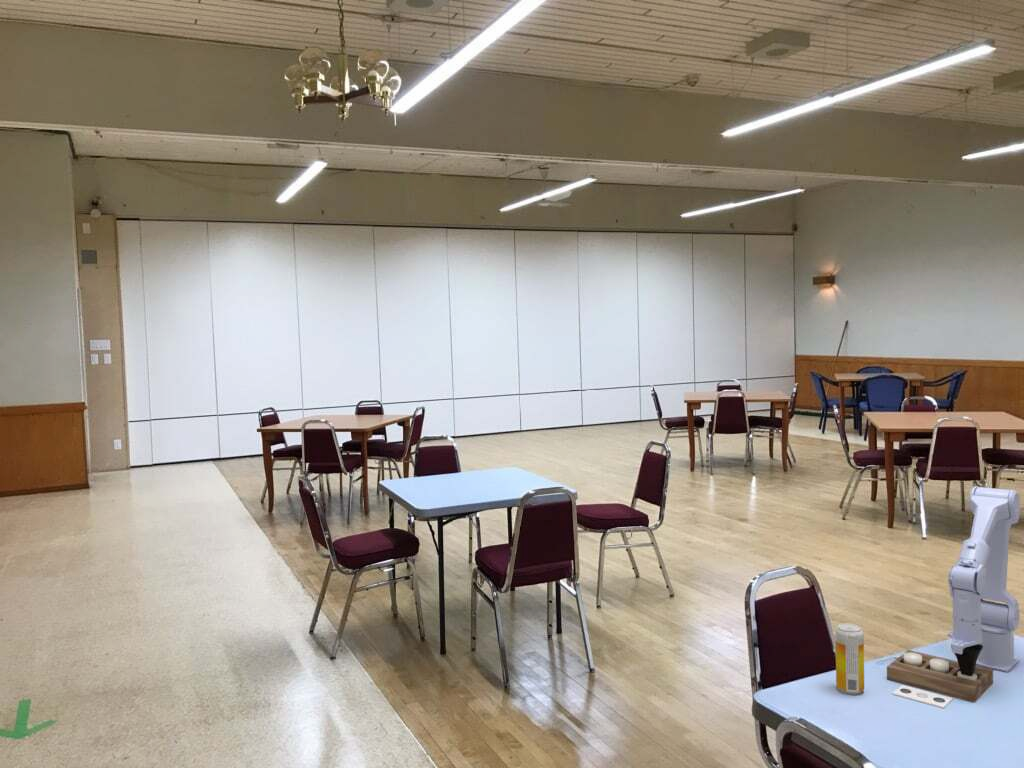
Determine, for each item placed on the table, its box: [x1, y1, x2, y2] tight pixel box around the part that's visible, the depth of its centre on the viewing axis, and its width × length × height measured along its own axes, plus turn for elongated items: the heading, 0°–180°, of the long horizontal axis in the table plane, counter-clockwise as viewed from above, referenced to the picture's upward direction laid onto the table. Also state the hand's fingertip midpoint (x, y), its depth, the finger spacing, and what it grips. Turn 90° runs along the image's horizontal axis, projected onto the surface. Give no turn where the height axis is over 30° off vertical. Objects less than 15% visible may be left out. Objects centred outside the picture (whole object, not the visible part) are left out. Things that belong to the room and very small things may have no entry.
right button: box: [957, 671, 977, 681], centre depth 188 cm, size 4×4×2 cm
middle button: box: [930, 659, 949, 674], centre depth 192 cm, size 4×4×2 cm
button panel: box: [886, 649, 994, 703], centre depth 192 cm, size 14×19×3 cm
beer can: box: [835, 622, 865, 696], centre depth 188 cm, size 6×6×15 cm
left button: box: [903, 652, 922, 667], centre depth 196 cm, size 4×4×2 cm
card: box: [891, 684, 954, 709], centre depth 184 cm, size 6×11×1 cm, turn 44°
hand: (967, 675), depth 188 cm, fingers closed, pressing on right button
